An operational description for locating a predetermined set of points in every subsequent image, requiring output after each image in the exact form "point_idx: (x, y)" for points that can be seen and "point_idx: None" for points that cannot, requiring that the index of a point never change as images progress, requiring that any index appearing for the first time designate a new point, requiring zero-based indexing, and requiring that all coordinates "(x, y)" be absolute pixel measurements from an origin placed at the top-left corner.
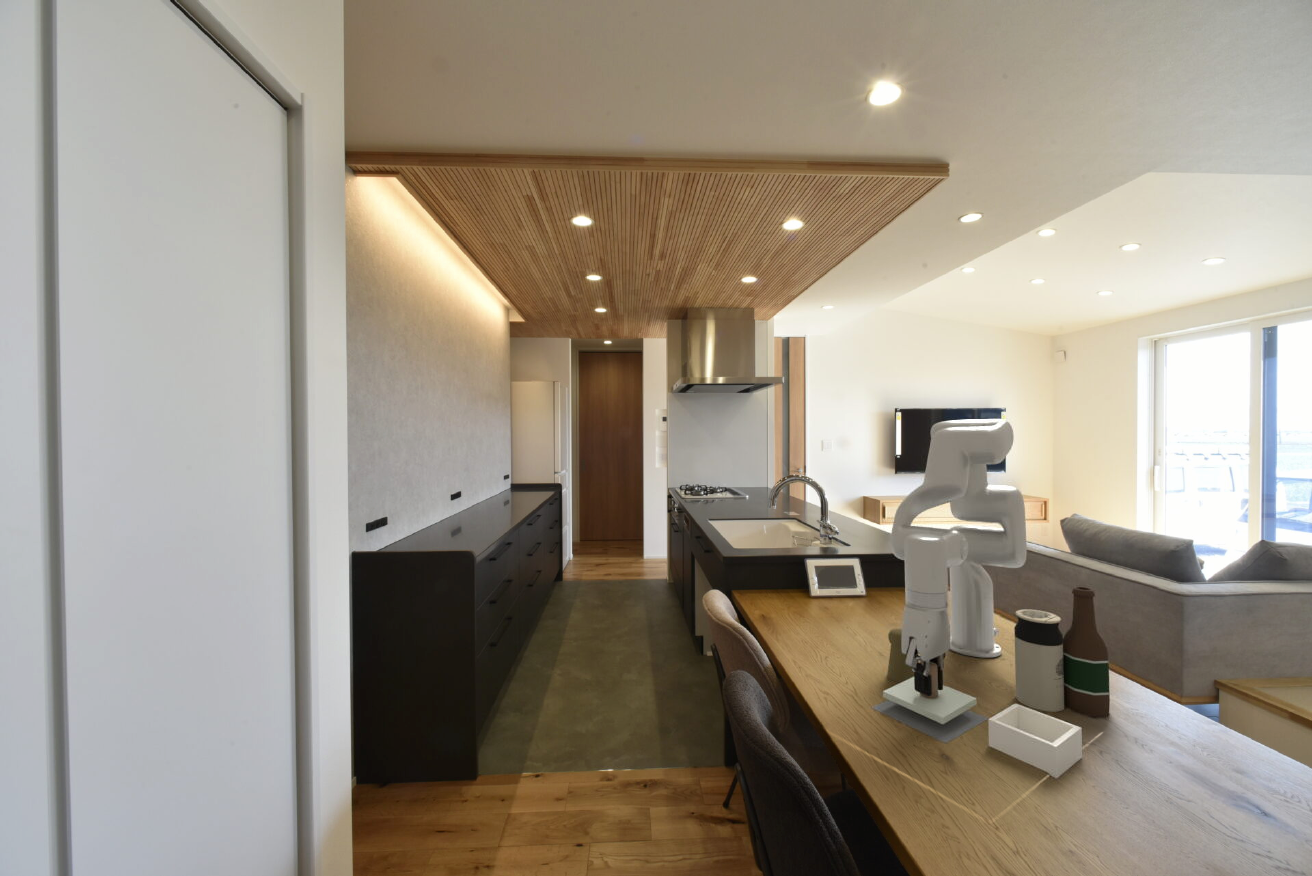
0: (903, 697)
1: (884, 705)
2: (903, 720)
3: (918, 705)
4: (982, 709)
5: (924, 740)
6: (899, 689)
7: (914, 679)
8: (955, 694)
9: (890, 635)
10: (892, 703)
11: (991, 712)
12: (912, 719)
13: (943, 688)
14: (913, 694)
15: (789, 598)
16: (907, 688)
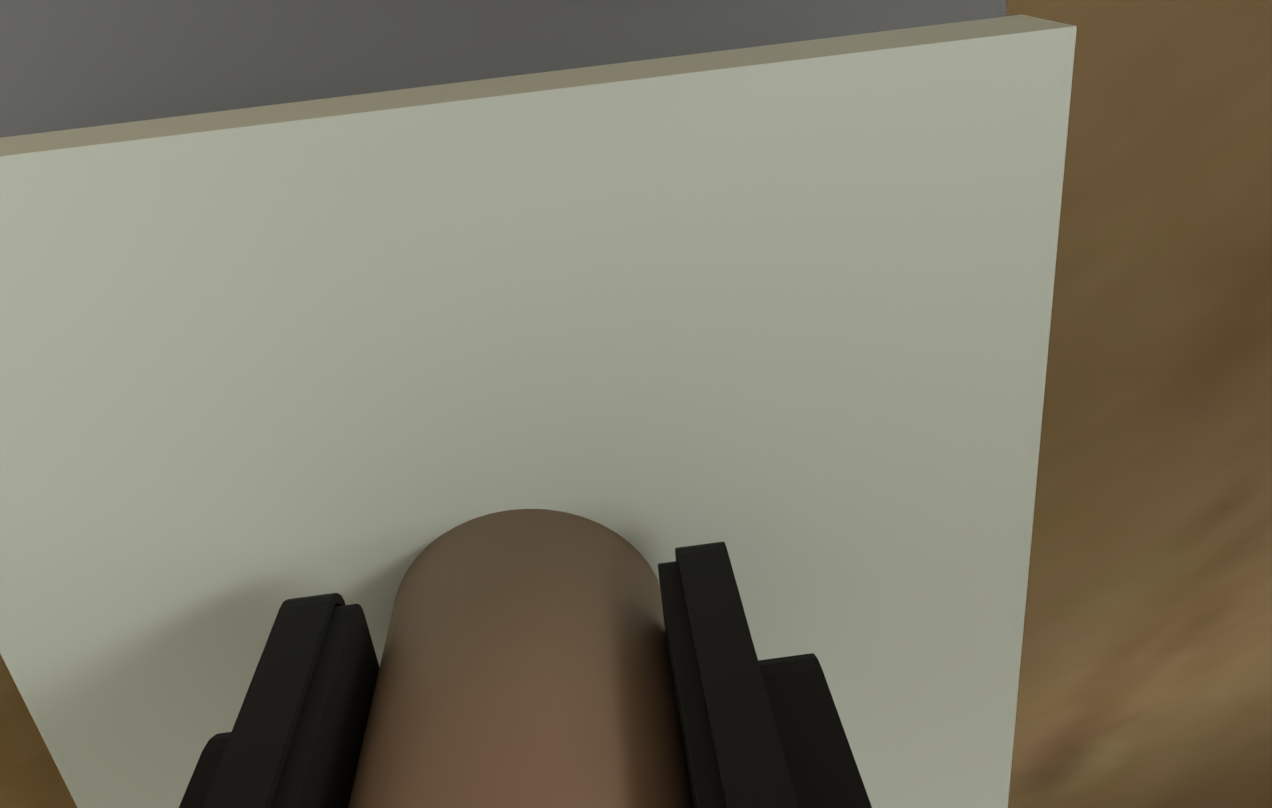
0: (32, 522)
1: (18, 82)
2: None
3: (94, 758)
4: (1147, 625)
5: (3, 785)
6: (184, 290)
7: (227, 744)
8: (880, 756)
9: None
10: (201, 100)
11: (1149, 690)
12: None
13: (922, 590)
14: (296, 520)
15: None
16: (369, 335)
